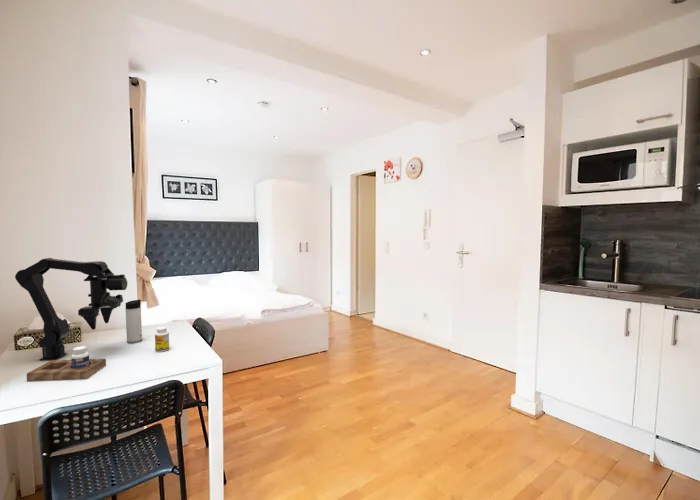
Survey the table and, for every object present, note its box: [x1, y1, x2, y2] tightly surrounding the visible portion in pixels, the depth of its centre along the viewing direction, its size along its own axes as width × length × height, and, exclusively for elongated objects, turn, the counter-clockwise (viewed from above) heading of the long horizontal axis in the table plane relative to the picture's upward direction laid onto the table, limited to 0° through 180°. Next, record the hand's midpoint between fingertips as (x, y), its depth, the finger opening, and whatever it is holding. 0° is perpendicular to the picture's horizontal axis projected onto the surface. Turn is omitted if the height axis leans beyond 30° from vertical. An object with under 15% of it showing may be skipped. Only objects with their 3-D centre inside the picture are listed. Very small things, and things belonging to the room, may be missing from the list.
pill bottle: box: [70, 345, 90, 369], centre depth 131 cm, size 5×5×10 cm
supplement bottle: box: [154, 326, 170, 353], centre depth 155 cm, size 6×6×10 cm
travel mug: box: [124, 299, 143, 344], centre depth 166 cm, size 6×7×20 cm
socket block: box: [26, 358, 107, 382], centre depth 131 cm, size 20×12×3 cm, turn 96°
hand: (100, 326), depth 149 cm, fingers open, 9 cm apart
